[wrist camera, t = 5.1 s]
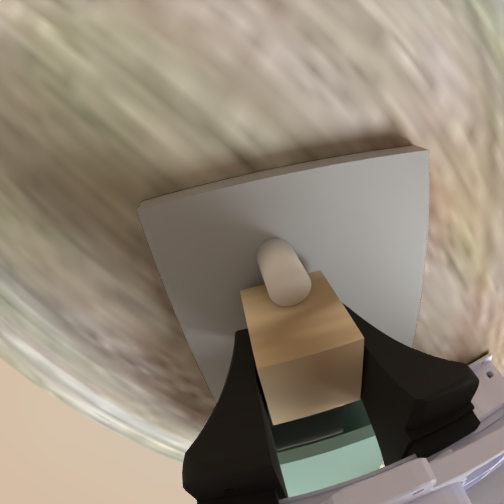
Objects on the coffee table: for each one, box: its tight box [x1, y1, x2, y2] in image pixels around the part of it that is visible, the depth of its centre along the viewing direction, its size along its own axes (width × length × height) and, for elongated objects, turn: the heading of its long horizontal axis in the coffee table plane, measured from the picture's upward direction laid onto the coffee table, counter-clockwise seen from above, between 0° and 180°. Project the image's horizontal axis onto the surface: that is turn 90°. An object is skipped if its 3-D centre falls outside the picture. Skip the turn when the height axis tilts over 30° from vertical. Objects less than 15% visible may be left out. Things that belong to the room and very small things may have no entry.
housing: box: [277, 398, 383, 497], centre depth 17 cm, size 7×10×5 cm
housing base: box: [137, 145, 429, 451], centre depth 17 cm, size 13×22×4 cm, turn 11°
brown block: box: [240, 270, 364, 425], centre depth 13 cm, size 4×4×5 cm
